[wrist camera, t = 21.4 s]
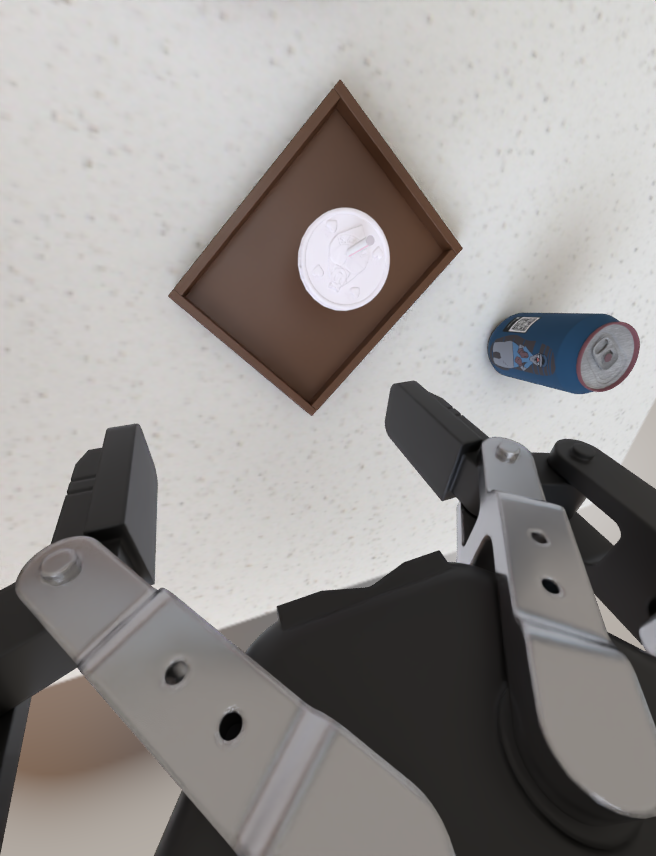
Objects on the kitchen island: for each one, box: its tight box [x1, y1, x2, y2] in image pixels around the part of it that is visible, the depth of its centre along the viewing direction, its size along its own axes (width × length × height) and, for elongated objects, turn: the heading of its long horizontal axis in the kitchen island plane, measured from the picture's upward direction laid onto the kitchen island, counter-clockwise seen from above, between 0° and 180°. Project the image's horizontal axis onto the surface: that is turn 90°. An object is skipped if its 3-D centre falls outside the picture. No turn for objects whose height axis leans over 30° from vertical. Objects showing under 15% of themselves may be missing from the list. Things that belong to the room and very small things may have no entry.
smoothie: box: [298, 208, 390, 311], centre depth 25 cm, size 6×6×14 cm
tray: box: [168, 80, 463, 416], centre depth 31 cm, size 22×17×2 cm
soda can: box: [488, 313, 640, 394], centre depth 34 cm, size 7×7×12 cm
